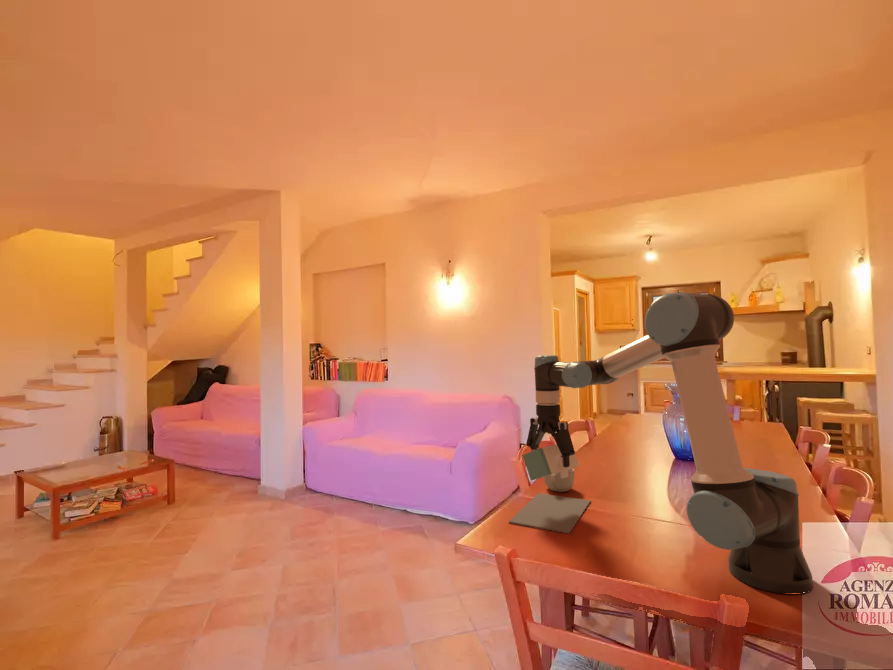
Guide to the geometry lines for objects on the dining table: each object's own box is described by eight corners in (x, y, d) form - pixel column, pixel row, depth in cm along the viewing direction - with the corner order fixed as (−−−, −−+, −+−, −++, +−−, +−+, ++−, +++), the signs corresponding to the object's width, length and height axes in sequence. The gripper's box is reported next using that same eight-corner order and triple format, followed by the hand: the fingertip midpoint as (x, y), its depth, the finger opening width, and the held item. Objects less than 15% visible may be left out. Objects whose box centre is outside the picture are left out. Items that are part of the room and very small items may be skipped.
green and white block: (579, 465, 140) (548, 474, 132) (562, 471, 146) (531, 480, 138) (569, 441, 143) (538, 448, 135) (553, 448, 149) (522, 455, 141)
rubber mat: (569, 534, 123) (569, 532, 123) (508, 523, 132) (508, 521, 132) (590, 501, 148) (590, 500, 148) (538, 494, 156) (538, 493, 156)
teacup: (552, 483, 169) (552, 462, 169) (580, 488, 162) (579, 466, 162) (535, 493, 158) (534, 470, 158) (563, 499, 151) (562, 475, 151)
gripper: (585, 405, 133) (588, 479, 133) (529, 399, 152) (531, 463, 152) (569, 408, 129) (572, 484, 129) (513, 401, 148) (516, 467, 148)
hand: (550, 473), depth 140 cm, fingers closed on green and white block, 11 cm apart
